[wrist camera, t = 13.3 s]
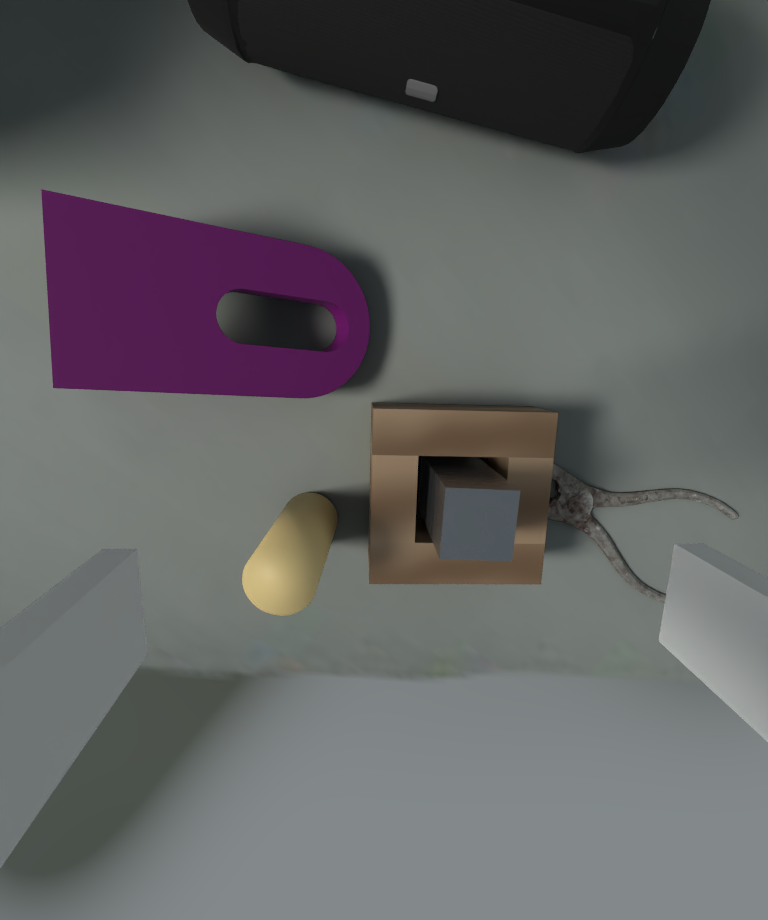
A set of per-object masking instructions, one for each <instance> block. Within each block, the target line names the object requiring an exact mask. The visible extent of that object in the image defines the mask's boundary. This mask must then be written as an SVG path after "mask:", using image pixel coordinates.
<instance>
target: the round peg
mask: <svg viewBox="0 0 768 920" xmlns="http://www.w3.org/2000/svg"><path fill="white" fill-rule="evenodd" d="M337 523H338V516H337V512H336V509H335V507H334V505H333V504H332V503H331V502H330V501H329V500H328V499H327V498H326V497H324V496H322V495H320V494H317V493H302V494H299V495H297V496H295V497H294V498H292V499H291V500H290V501H289V502H288V504H287V505H286V507H285V508H284V510H283V511H282V513H281V514H280V515H279V517H278V518H277V520H276V521H275V523H274V524H273V526H272V527H271V529H270V530H269V531H268V533H267V534H266V536H265V537H264V539H263V540H262V542H261V543H260V545H259V546H258V548H257V549H256V550H255V552H254V553H253V555H252V556H251V558H250V559H249V561H248V562H247V564H246V566H245V568H244V571H243V576H242V583H243V588H244V591H245V593H246V595H247V597H248V598H249V600H250V601H251V602H252V603H253V604H254V605H255V606H256V607H258V608H259V609H261V610H262V611H264V612H267V613H270V614H273V615H291V614H294V613H297V612H299V611H301V610H303V609H304V608H305V607H307V606H308V605H309V603H310V602H311V601H312V599H313V598H314V596H315V593H316V590H317V587H318V584H319V580H320V577H321V574H322V571H323V568H324V565H325V562H326V558H327V555H328V552H329V549H330V546H331V543H332V540H333V536H334V533H335V530H336V527H337Z"/></svg>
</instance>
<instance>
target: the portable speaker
mask: <svg viewBox="0 0 768 920" xmlns="http://www.w3.org/2000/svg"><path fill="white" fill-rule="evenodd" d="M710 1H711V0H188V3H189V5H190V8H191V11H192V13H193V15H194V17H195V19H196V21H197V23H198V24H199V25H200V27H201V28H202V29H203V30H204V31H205V32H207V33H208V34H209V35H211V36H212V37H213V38H215V39H216V40H217V41H219V42H220V43H221V44H223V45H224V46H225V47H227V48H228V49H229V50H231V51H232V52H233V53H235V54H236V55H238V56H239V57H240V58H242V59H243V60H244V61H246V62H248V63H258V64H261V65H265V66H268V67H271V68H275V69H278V70H282V71H285V72H289V73H292V74H296V75H300V76H303V77H307V78H311V79H314V80H318V81H322V82H325V83H329V84H333V85H336V86H340V87H343V88H347V89H351V90H354V91H358V92H362V93H365V94H369V95H373V96H376V97H380V98H384V99H387V100H391V101H394V102H398V103H402V104H405V105H409V106H413V107H416V108H420V109H424V110H427V111H431V112H435V113H438V114H442V115H446V116H449V117H453V118H456V119H460V120H464V121H467V122H471V123H475V124H478V125H482V126H486V127H489V128H493V129H497V130H500V131H504V132H507V133H511V134H515V135H518V136H522V137H526V138H529V139H533V140H537V141H540V142H544V143H548V144H551V145H555V146H558V147H562V148H566V149H570V150H573V151H574V152H576V153H581V152H588V151H594V150H601V149H607V148H614V147H621V146H624V145H626V144H628V143H630V142H631V141H632V140H634V139H635V138H636V137H637V136H638V135H639V134H640V133H641V132H642V131H643V130H644V129H645V128H646V126H647V125H648V124H649V123H650V121H651V120H652V119H653V118H654V116H655V115H656V114H657V112H658V111H659V109H660V108H661V107H662V105H663V104H664V102H665V100H666V99H667V97H668V95H669V94H670V92H671V90H672V89H673V87H674V85H675V84H676V82H677V80H678V78H679V76H680V74H681V73H682V71H683V69H684V67H685V65H686V63H687V61H688V58H689V56H690V54H691V52H692V50H693V48H694V45H695V43H696V41H697V38H698V36H699V33H700V31H701V29H702V26H703V23H704V20H705V17H706V14H707V11H708V8H709V4H710Z"/></svg>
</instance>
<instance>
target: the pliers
mask: <svg viewBox="0 0 768 920" xmlns="http://www.w3.org/2000/svg"><path fill="white" fill-rule="evenodd" d="M552 479H553V480H555V481H556V483H557V485H556V489H555V490H557V491H558V492H559V493H558V495H557V496H556V498H551V499H550V500H549V510H548V518H549V519H553V520H557V521H561V522H565V523H566V522H567V523H569V524H571V525H573V526H575V527H576V528H578V529H580V530H583V531H584V532H585V533H587V534H588V535H589V536H590V537H591V538H592V539H593V540H594V541H595V542H596V543H597V544H598V546H599V547H600V548H601V549H602V551H603V552H604V554H605V555H606V556H607V558H608V559H609V560H610V562H611V563H612V565H613V566H614V567H615V569H616V570H617V571H618V573H619V574H620V575H621V576H622V577H623V578H624V580H625V581H626V582H628V583H629V584H630V585H631V586H633V587H634V588H635V589H636V590H638V591H640V592H641V593H643V594H645V595H647V596H649V597H651V598H653V599H655V600H658V601H661V602H664V603H665V599H666V595H665V594H662V593H659V592H657V591H655V590H653V589H651V588H649V587H648V586H646V585H645V584H643V583H642V582H640V581H639V580H638V579H637V578H636V577H635V576H634V575H633V573H632V572H631V571H630V569H629V568H628V566H627V565H626V563H625V562H624V560H623V559H622V557H621V556H620V554H619V552H618V551H617V549H616V547H615V545H614V544H613V542H612V540H611V539H610V537H609V536H608V534H607V533H606V532H605V531H604V529H603V528H602V527H601V526H600V525H599V524H598V523H597V522H596V521H595V520H594V518H593V517H591V515H590V512H591V510H592V508H593V507H620V506H629V505H636V504H641V503H646V502H653V501H660V500H667V499H689V500H694V501H699V502H702V503H705V504H708V505H710V506H712V507H714V508H716V509H718V510H719V511H721V512H722V513H724V514H725V515H727V516H728V517H730V518H731V519H737V518H738V514H737V513H736V512H735V511H734V510H733V509H731V508H730V507H728V506H727V505H726V504H724V503H722V502H720V501H719V500H717V499H715V498H712V497H710V496H707V495H705V494H702V493H698V492H695V491H691V490H685V489H657V490H646V491H636V492H608V491H603V490H600V489H597V488H594V487H590V486H587V485H585V484H584V483H582V482H581V481H579V480H578V479H576V478H575V477H573V476H572V475H570V474H569V473H567V472H566V471H564V470H563V469H561V468H560V467H558V466H557V465H555V464H554V463H553V471H552Z"/></svg>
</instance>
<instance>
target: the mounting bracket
mask: <svg viewBox="0 0 768 920" xmlns="http://www.w3.org/2000/svg"><path fill="white" fill-rule="evenodd" d="M41 190H42V189H41ZM42 207H43V223H44V240H45V257H46V274H47V291H48V308H49V324H50V341H51V358H52V375H53V388H67V389H91V390H116V391H140V392H164V393H188V394H212V395H236V396H260V397H284V398H313V397H318V396H322V395H325V394H328V393H330V392H332V391H334V390H336V389H337V388H339V387H340V386H342V385H343V384H344V383H346V382H347V381H348V380H349V379H350V378H351V377H352V376H353V374H354V373H355V372H356V370H357V369H358V367H359V366H360V364H361V362H362V360H363V358H364V355H365V353H366V350H367V346H368V341H369V334H370V319H369V311H368V306H367V303H366V300H365V297H364V294H363V292H362V289H361V288H360V286H359V284H358V282H357V281H356V279H355V277H354V276H353V275H352V273H351V272H350V271H349V270H348V269H347V268H346V267H345V266H344V265H343V264H342V263H341V262H340V261H339V260H338V259H336V258H335V257H333V256H332V255H330V254H329V253H327V252H325V251H323V250H320V249H318V248H315V247H312V246H308V245H303V244H299V243H294V242H289V241H284V240H280V239H275V238H270V237H265V236H261V235H256V234H251V233H246V232H242V231H237V230H232V229H227V228H223V227H218V226H213V225H208V224H204V223H199V222H194V221H189V220H184V219H180V218H175V217H170V216H165V215H161V214H156V213H151V212H146V211H142V210H137V209H132V208H127V207H123V206H118V205H113V204H108V203H104V202H99V201H94V200H89V199H85V198H80V197H75V196H70V195H65V194H61V193H56V192H51V191H46V190H42ZM230 292H238V293H245V294H252V295H258V296H265V297H272V298H279V299H286V300H292V301H299V302H306V303H313V304H319V305H322V306H324V307H325V308H327V309H328V310H329V311H330V312H331V314H332V315H333V317H334V319H335V322H336V328H337V330H336V336H335V339H334V341H333V343H332V344H331V345H330V346H329V347H328V348H327V349H325V350H323V351H311V350H300V349H290V348H279V347H269V346H258V345H247V344H240V343H237V342H234V341H232V340H231V339H229V338H228V337H227V336H226V335H224V333H223V332H222V331H221V329H220V327H219V325H218V323H217V319H216V309H217V305H218V302H219V300H220V299H221V297H222V296H223V295H224V294H226V293H230Z"/></svg>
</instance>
